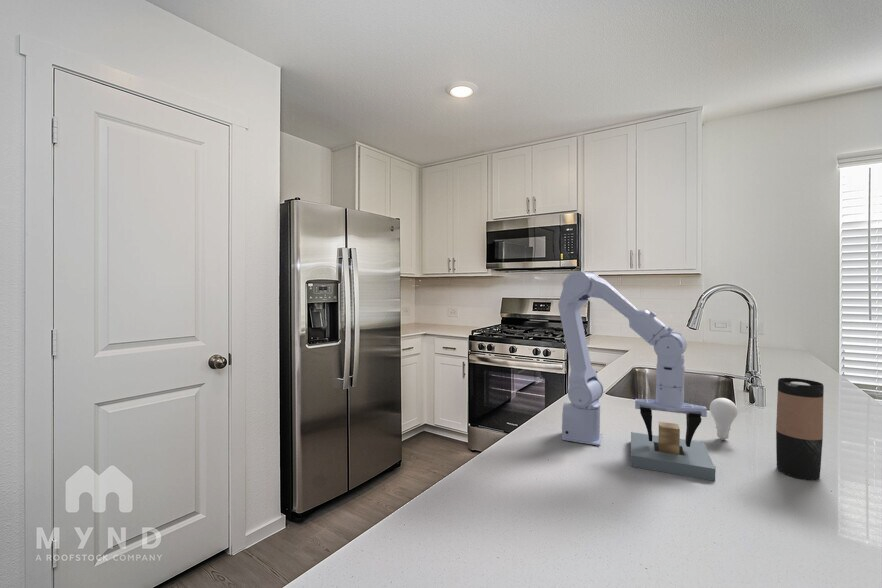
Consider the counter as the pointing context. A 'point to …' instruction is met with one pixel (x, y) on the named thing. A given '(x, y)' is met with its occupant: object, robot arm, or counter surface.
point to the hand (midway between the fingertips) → (668, 442)
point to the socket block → (672, 457)
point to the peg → (669, 438)
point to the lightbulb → (723, 415)
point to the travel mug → (799, 428)
